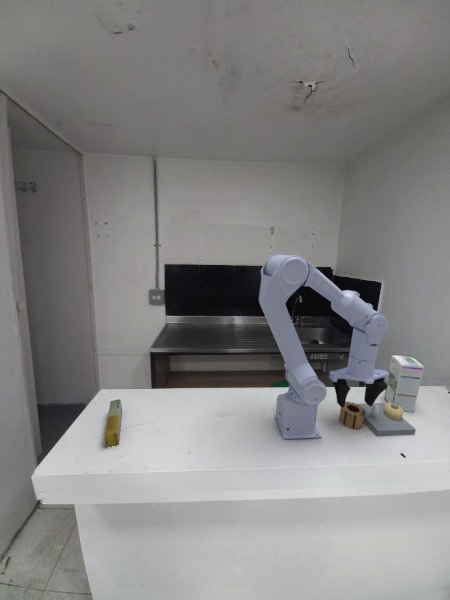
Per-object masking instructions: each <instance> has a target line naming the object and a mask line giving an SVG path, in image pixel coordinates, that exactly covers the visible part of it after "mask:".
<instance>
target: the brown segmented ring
mask: <svg viewBox="0 0 450 600" xmlns="http://www.w3.org/2000/svg"><path fill="white" fill-rule="evenodd" d="M358 404H359V403H355V402H352V401H345V406H344V407H340V411H339V417H338V419H339V421H340V422H341V424H342V425H344V427H347V428H349V429H350V430H361V429H363V426H364V424H365V422H364V418H365V413H366V412H365V410H364V409H363V408H362V407H361V406H359V405H358Z"/></svg>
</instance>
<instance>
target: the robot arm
mask: <svg viewBox="0 0 450 600" xmlns="http://www.w3.org/2000/svg"><path fill="white" fill-rule="evenodd" d="M260 276H261V278H260V279H261V280H260V286H259V295H258V302H259V305H260V308H261V310H262V312H263V314H264V317H265V319H266V322H267V324H268V326H269V328H270V331H271V333H272V336H273V338H274V340H275V342H276V344H277V347H278V349H279V351H280V353H281V356H282V359H283V361H284V363H283V366H284V368H285V379H286V381H287V382H288V390H287V392H284V393H280V394H278V395H277V397H276V406H275V407H276V408H275V414H274V419H275V421H276V423H277V426H278V428H279V430H280V433H281V435H282V438H283V439H284V440H293V439H294V440H297V439H317V438H319V439H321V438H322V436H323V435H322V434H321V432H320V430H319V429H318V427H317V426H316V421H317V415H318V408H319V405H320V404H321V403H322V402H323V401H324V400H325V399H326V397H327V393H328V392H327V391H328V390H327V386H326V384H324V383H323V381H321V380H320V379H319V378H318V375H317V373H316V372H315V370H314V369H313V367H312V366H311V364H310V363H309V361H308V358H307V356H306V353H305V351H304V348H303V346H302V343H301V341H300V338H299V335H298V333H297V331H296V327H295V326H294V323H293V320H292V318H291V316H290V313H289V310H288V308H287V304H286V303H287V301H288V300H289V298H290V297H291V296H292V295H293V294H294V293H295V292H296V291H297V290H298V289H299V288H300V287H301V286H304V287H310V288H311V289H313V290H314V291H315V292H317V293H318V294H320V295H321V296H322V297H324V298H325V299H327V300H328V301H329V302H330V303H331V304H330V307H331V310H332V311H334V312H335V313H336V314H338V315H339V316H340V317H341V318H342V319H344V320H345V321H347V322H348V324H349V325H350V327H352V328H353V329H352V336H351V342H350V350H349V355H348V361H347V367H344V368H341V369H337V370H330V371H329V377H328V378H329V379H330V380H331V382H332V385H333V387H334V391H335V396H336V403H337V404H338V406H339V407H340V408H341V407H344V406H345V402H347V401H346V400H347V396H348V394H349V392H350V390H351V387H350V386H349V385H348V382H347V381H356V382H361V383H364V384H365V391H364V398H363V399H364V403H367V404H368V405H369V406H372V405H373V404H374V403H376V400H377V398H378V397H380V395H381V394H382V392H385V390H386V389H387V386H388V384H387V381H388V379H389V375H390V374H389V371H386V370H385V369H378V368H377V369H376V368H375V366H376V363H377V359H378V358H377V356H378V351H379V346H380V344H381V342H383V337H384V335H385V334H387V332H388V330H389V329H390V324H389V322H388V319H387V317H386V314H384V313H382V312H379V311H377V310H374V308H373V307H374V306H373V305H372V304H371V303H369V302H368V303H367V302H365V301H364V300H363V299H362V298H360V293H359V292H357V291H356V290H350V289H346V290H341V289H340V288H339V287H338V286H337V285H336V284H334V282H333V281H331V280H330V278H328V277H326V275H324V274H323V273H322V272H321V271H320V270H319V269H317V267H316V266H315V265H314V264H312V263H311V262H308V261H306V260H305V259H304V258H303V257H302V256H300V255H286V254H282V253H275V254H272V255H270V256H269V257H268V258H267V259H266V261H264V264H263V266H262V268H261V269H260ZM385 381H386V382H385Z"/></svg>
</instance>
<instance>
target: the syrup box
mask: <svg viewBox="0 0 450 600" xmlns="http://www.w3.org/2000/svg"><path fill="white" fill-rule="evenodd" d="M424 369H425V366H424V365H423V364H422V363H420V362H419V360H416V359H415V358H414V357H411V356H406V355H393V354H392V355H391V360H390V365H389V370H388V373H389V374H390V375H389V379H388V381H386V383H387V384H388V386H387V389H385V390H384V395H383V396H384V397H383V398H384V399H385V401H386V403H387V402H395V403H397V404H399V406H401V407H402V408H403V410H404V412H409V413H414V412H415V409H416V403H417V399H418V395H419V391H420V386H421V382H422V378H423V373H424Z"/></svg>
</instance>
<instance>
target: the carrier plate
mask: <svg viewBox="0 0 450 600" xmlns="http://www.w3.org/2000/svg"><path fill="white" fill-rule="evenodd" d="M357 404H358V405H359V406H361V407H362V408H363V409H364V410H365V412H366V413H365V418H364V424H365V425H366V426H367V427H368V428H369V429H370V430H371V431H372V432H373V434H374V435H375V436H376V437H382V436H383V437H386V436H388V437H389V436H413V435H415V434H416V431H417V429H416V428H415V427H413V426H412V425H411V423H409V422H408V421H407V420H406V418H404V417H403V414H404V412H405V411H404V410H403V408H402V407H401V406H399V404H397V403H395V402H387V401H386V402H374V404H373V405H372V406H369V405H368V404H367V403H366V402H364V403H357Z"/></svg>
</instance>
